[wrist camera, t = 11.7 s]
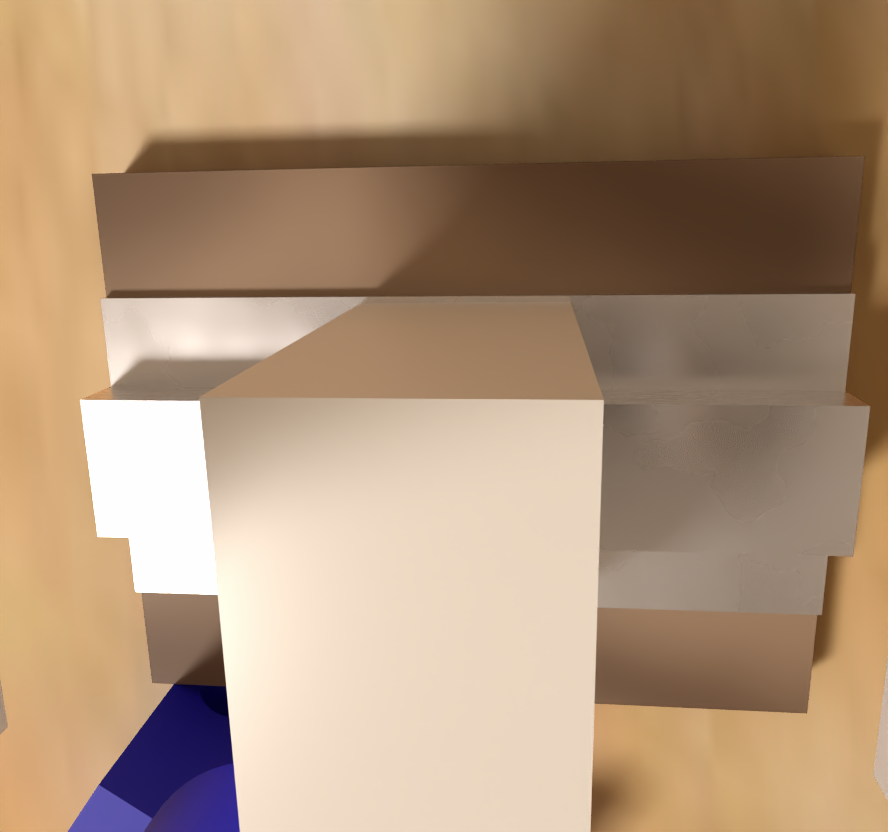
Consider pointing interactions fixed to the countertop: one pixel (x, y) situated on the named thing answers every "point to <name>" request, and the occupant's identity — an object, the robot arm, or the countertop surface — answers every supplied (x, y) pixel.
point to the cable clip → (171, 771)
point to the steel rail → (623, 449)
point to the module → (411, 571)
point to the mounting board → (505, 273)
